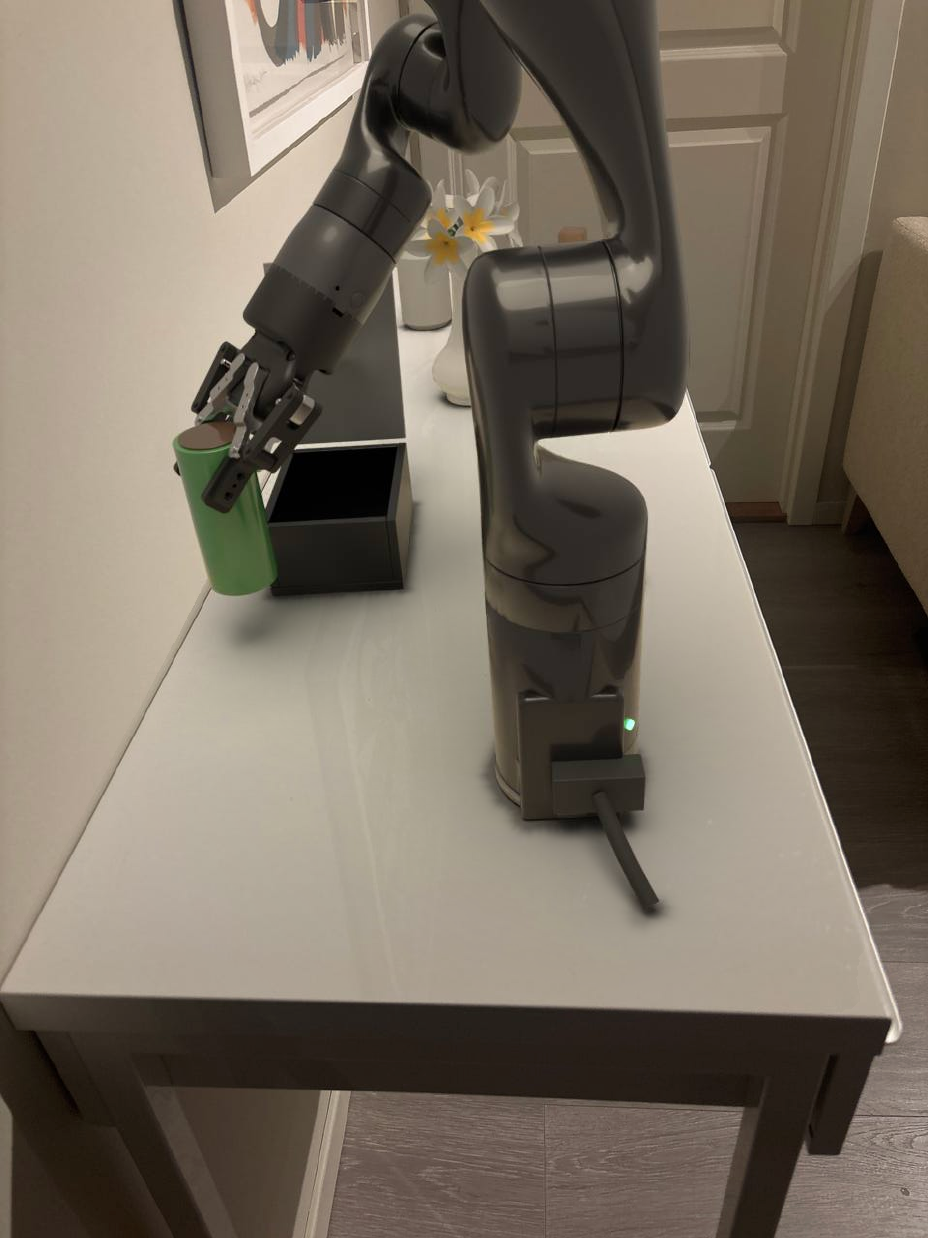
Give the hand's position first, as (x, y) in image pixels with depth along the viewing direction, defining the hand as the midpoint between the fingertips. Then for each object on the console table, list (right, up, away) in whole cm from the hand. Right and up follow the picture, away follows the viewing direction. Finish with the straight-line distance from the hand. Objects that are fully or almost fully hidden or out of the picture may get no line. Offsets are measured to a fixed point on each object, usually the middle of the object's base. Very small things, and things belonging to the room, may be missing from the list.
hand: (199, 491), depth 70 cm
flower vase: (+21, +18, +48) cm, 55 cm away
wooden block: (+37, +50, +85) cm, 105 cm away
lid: (+8, +15, +19) cm, 26 cm away
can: (+14, +35, +74) cm, 83 cm away
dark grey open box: (+8, -3, +20) cm, 22 cm away
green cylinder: (+2, -6, +5) cm, 8 cm away
